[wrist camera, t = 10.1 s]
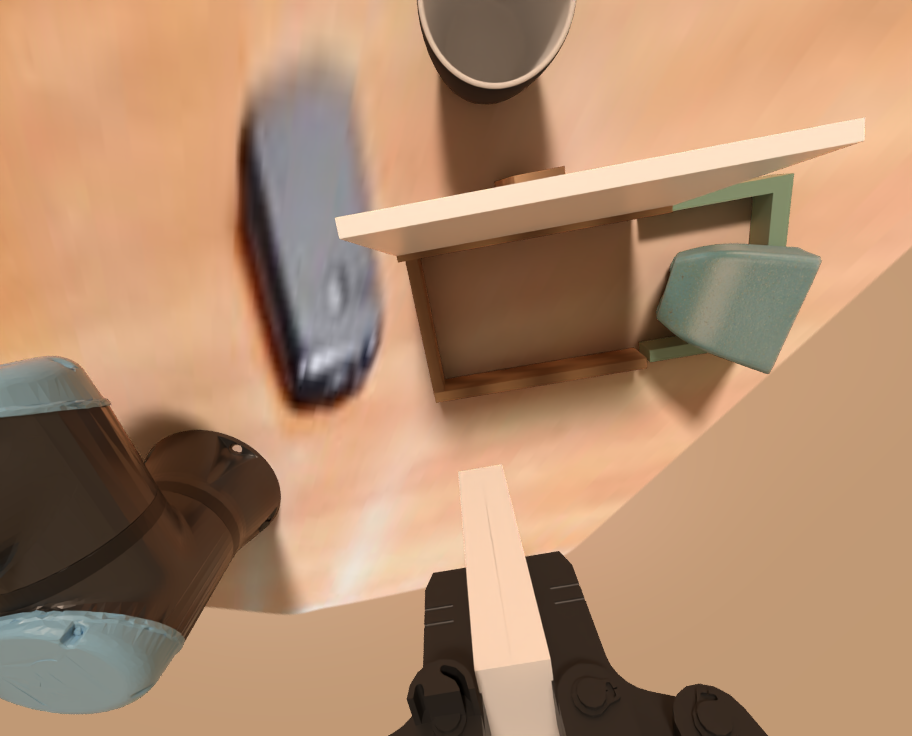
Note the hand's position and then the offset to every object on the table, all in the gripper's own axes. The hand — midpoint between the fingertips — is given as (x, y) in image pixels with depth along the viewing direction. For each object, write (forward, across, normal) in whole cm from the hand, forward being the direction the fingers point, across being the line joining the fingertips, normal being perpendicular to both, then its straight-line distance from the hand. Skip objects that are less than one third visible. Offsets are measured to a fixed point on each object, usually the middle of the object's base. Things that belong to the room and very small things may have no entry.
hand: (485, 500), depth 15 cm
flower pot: (+25, +18, 0) cm, 31 cm away
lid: (+20, +6, +7) cm, 22 cm away
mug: (+28, +5, +21) cm, 35 cm away
